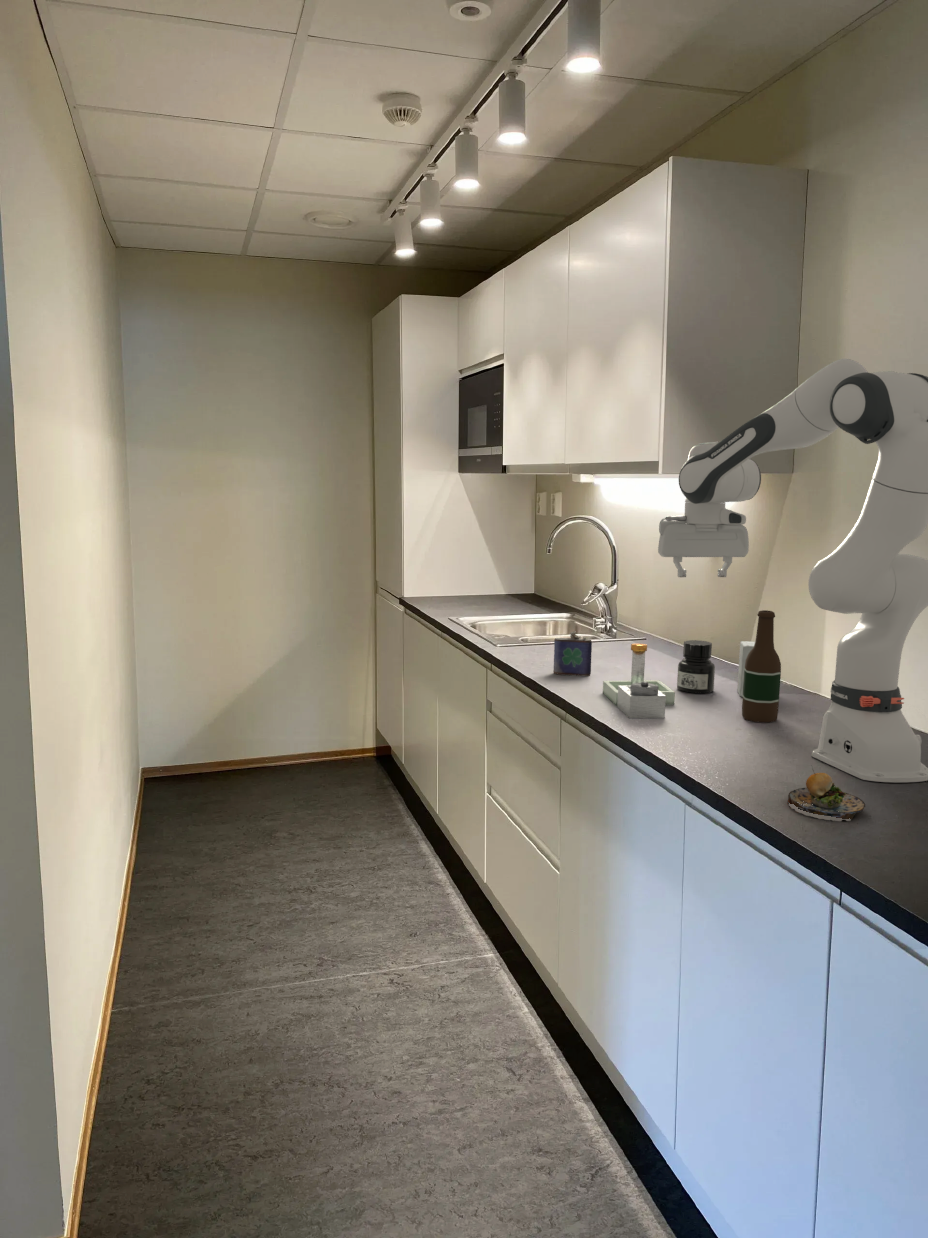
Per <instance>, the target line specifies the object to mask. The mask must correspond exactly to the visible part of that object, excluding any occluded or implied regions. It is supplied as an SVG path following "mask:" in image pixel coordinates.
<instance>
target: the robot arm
mask: <svg viewBox="0 0 928 1238" xmlns="http://www.w3.org/2000/svg"><path fill="white" fill-rule="evenodd" d="M838 429H841V430H842V431H844V432H845V433H848V434H849V435H852V436H853V437H854V438H856V439H857V440H858V441H860V442H861V443H863V444H865V445H870V444H873V443H875V444H876V446H877V450H878V456H877V462H876V464H875V465H876V466H875V469H874V472H873V474H872V477H871V480H870V483H869V484H870V485H869V488H868V491H867V494H866V498H865V501H864V502H863V506H862V509H861V510H860V511H861V512H860V515H859V516H858V519H857V521H856V523H854V526H853V527H852V528H851V531H850V532H849V533H848V534H847V536H846V537H845V539H844V540H843V541H842V542H841V543H840V544H839V545H838V547H837V548H836V549H834V550H833V551H832V552H831V553H830V554H828V555H827V556H825V557H824V558H822V559H820V560H819V561H817V563H816V564H815V565H814V566H813V568H812V569H811V572H810V573H809V578H808V591H809V595H810V597H811V599H812V601H813V602H814V604H815V605H816V606H817V607H818V608H819V609H821V610H824V611H829V612H834V613H839V614H844V615H845V614H846V615H847V614H848V615H849V614H851V615H852V614H861V616H860V618H859V620H858V622H857V623H856V625H855V626H854V627H853V629H851V630H850V631H849V632H847V633H846V634H845V635H844V636H842V637H841V638H840V640H839V642H838V644H837V647H836V648H837V649H836V660H835V672H834V673H835V674H834V680H833V681H831V682H832V683H831V687H830V700H831V701H832V702H831V704H830V706H829V708H828V709H827V710H826V711H825V713H824V714H823V717H822V721H821V722H822V723H821V729H820V735H819V741H818V746H817V748H815V749H813V750H812V753H811V757H813V758H815V759H816V760H818V761H821V762H823V763H824V764H825V763H826V764H828V765H830V766H832V767H835V768H836V769H838V770H841V771H843V772H845V773H847V774H849V775H851V776H854V777H856V778H858V779H861V780H864V781H870V782H878V783H879V782H881V783H919V782H920V783H921V782H925V781H926V782H927V781H928V767H927V765H925V764H924V763H922V762H921V760H922V747H921V746H922V736H921V735H920V734H916V733H915V732H914V730H913V729H912V727H911V725H910V723H909V722H908V721H907V719H906V717H905V715H904V714H903V712H902V708H903V704H905V702H903V701H904V700H905V698H904V697H902V695H901V691H900V690H901V689H900V687H899V686H898V684H899V675H900V667H901V659H902V654H903V648H904V644H905V643H906V642H905V641H906V639H907V637H908V634H909V632H910V630H911V628H912V627H913V625H914V623H915V621H916V619H917V618H918V617H919V616H920V614H921V613H922V612H923V611H924V610H925V609H926V608H927V607H928V558H924V557H922V556H918V555H913V554H908V553H900V552H901V551H902V550H903V549H904V548H906V546H908V545H909V544H911V543H912V542H914V541H915V540H917V539H918V538H920V537H921V536H922V535H923V534H924V533H925V531H926V529H927V527H928V376H927V375H923V374H920V373H915V372H914V373H913V372H912V373H911V372H909V373H905V372H897V371H892V370H891V371H890V370H886V371H883V370H882V371H875V372H874V371H873V372H868V371H867V369H866V368H865V366H863V364H862V363H859V362H858V361H856V360H854V359H851V358H840V359H837V360H834V361H832V362H831V363H829V364H827V365H826V366H824V367H822V368H820V369H819V370H818V371H816V372H815V373H813V374H812V375H811V376H810V377H808V378H807V379H806V380H804V381H803V382H802V383H801V384H800V385H798V387H796V388H795V389H794V390H793V391H792V392H791V393H789V394H788V395H787V396H785V397H784V398H783V399H781V400H780V401H778V402H777V403H776V404H774V405H773V406H771V407H770V408H768V409H766V410H765V411H763V412H762V413H760V414H758V415H757V416H755V417H753V418H751V419H750V420H748V421H746V422H745V423H744V424H742V425H740V426H739V427H738V428H737V429H735V430H734V431H733V432H731V433H729V435H727V436H726V437H724V438H723V439H722V440H721V441H719V442H718V441H710V442H703V443H698V444H696V445H694V446H693V447H692V448H690V451H689V453H688V458H687V460H686V461H685V462H684V463H683V465H682V467H681V469H680V472H679V474H678V486H679V489H680V491H681V493H682V494H683V496H684V497H685V499H684V515H676V516H675V515H673V516H672V515H667V516H665V517H664V518H662V519H661V520H660V522H659V525H658V527H659V528H658V531H659V539H658V547H657V553H658V554H659V556H660V557H662V558H672V562H673V564H674V566H675V568H676V569H677V577H678V578H687V569H685V568H684V567H682V564H681V563H682V562H683V558H722V561H723V562H724V563H723V565H722V567H721V568H718V569H717V577H718V578H727V571H728V570H729V568H730V566H731V564H732V563H733V558H746V556H747V555H748V554H749V551H750V550H749V547H750V545H749V544H750V543H749V541H750V539H749V532H748V531H749V530H748V529H747V527H746V526H745V524H746V523H747V517H746V515H745V514H742V513H740V512H736V511H733V510H732V509H728V508H726V503H730V502H731V503H734V502H735V503H739V502H740V503H741V502H746V501H748V500H752V499H753V498H754V497H755V496H756V495H757V493H758V492H759V490H760V488H761V484H762V474H761V470H760V467H759V465H758V464H757V461H755V460H754V459H752V458H753V457H756V456H757V455H761V454H765V453H769V452H776V451H783V450H784V451H785V450H794V449H803V448H807V447H811V446H813V445H816V444H817V443H819V442H821V441H823V440H824V439H826V438H827V437H829V436H830V435H831V434H833V433H834V432H835V431H837V430H838ZM902 700H903V701H902Z"/></svg>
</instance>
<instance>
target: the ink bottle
mask: <svg viewBox="0 0 928 1238" xmlns="http://www.w3.org/2000/svg"><path fill="white" fill-rule="evenodd" d="M712 648H713V643H712V642H711V641H706V640H696V639H694V640H693V639H692V640H684V641H683V652H682V654H683V655H682V656H683V658H682V660H680V661H679V662H678V665H677V676H676V677H677V679H676V680H677V681H676V688H677V690H679V691H681V692H684V693H689V694H690V693H691V694H708V693H711V692H713V691H714V690H715V689H714V688H715V674H716V672H715V671H716V666H715V664H714V662H713V661H712V660H711V658H712V651H713V650H712Z"/></svg>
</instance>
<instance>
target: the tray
mask: <svg viewBox="0 0 928 1238" xmlns="http://www.w3.org/2000/svg"><path fill="white" fill-rule="evenodd" d="M644 682H648V683H650V684H655V685H657V686H658V690H659V691H660V692H662V693H663V694H664V695H665V696H666V702H665V706H667V705H669V706H670V705H675V701H676V700H675V698H676V696H675V694H676V691H674V690H673V689H672V688H670V687H669V686H667V685H666V684H664V682H662V681H661V680H659V679H658V680H651V679H650V680H647V679H646V680H645V679H644ZM618 686H631V680H603V681H602V694H603V695H604V696H605V697H606V698H607V699H609V700H610V702H612V704H614V706H617V701H618Z"/></svg>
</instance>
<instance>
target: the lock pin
mask: <svg viewBox="0 0 928 1238" xmlns="http://www.w3.org/2000/svg"><path fill="white" fill-rule="evenodd" d="M630 650H631V651H632V653H631V654H632V655H631V672H630V673H631V676H630V681H631V684H634V683H641V682H644V680H645V668H646V666H645V664H646V663H645V662H646V652H647V651H648V644H645V643H631V644H630Z"/></svg>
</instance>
